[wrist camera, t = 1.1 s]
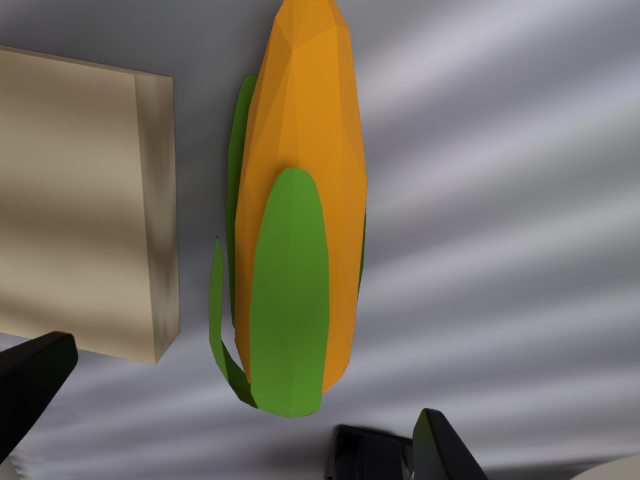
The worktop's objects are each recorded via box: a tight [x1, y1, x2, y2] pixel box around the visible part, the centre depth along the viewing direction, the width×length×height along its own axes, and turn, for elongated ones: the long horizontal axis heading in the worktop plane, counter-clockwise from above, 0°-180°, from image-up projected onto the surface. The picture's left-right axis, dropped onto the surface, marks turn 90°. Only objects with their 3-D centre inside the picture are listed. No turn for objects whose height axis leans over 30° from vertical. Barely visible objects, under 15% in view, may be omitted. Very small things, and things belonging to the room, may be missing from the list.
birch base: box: [0, 45, 180, 365], centre depth 18 cm, size 16×12×3 cm
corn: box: [209, 0, 368, 418], centre depth 15 cm, size 7×8×20 cm
